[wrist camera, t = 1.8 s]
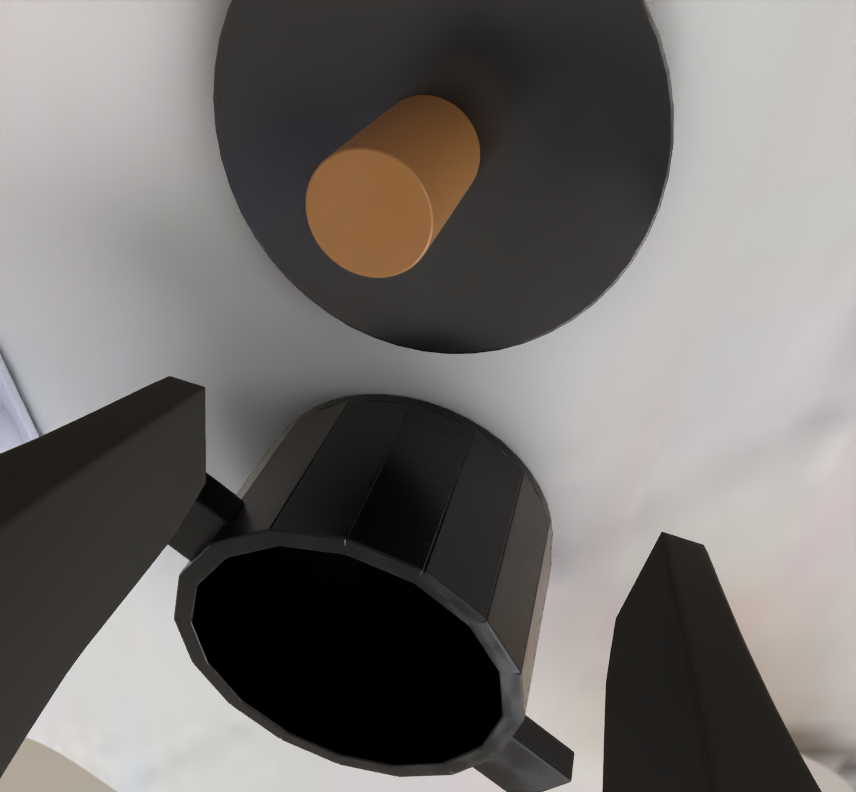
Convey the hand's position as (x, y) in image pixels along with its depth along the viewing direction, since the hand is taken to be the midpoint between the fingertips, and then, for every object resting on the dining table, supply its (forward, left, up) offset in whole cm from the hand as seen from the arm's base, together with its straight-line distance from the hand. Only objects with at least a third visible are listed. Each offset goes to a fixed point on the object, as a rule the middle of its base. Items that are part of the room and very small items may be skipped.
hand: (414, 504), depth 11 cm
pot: (-4, -10, -10) cm, 15 cm away
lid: (-2, +3, -10) cm, 10 cm away
